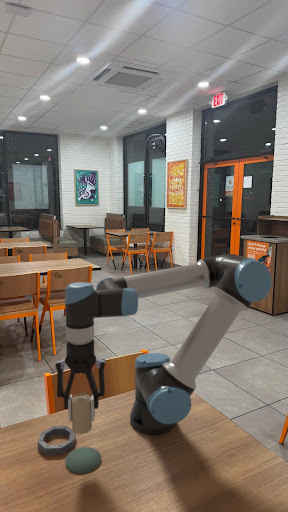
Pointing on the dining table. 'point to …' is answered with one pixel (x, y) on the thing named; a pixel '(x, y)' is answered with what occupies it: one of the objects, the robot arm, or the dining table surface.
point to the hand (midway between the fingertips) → (81, 418)
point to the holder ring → (56, 448)
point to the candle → (81, 413)
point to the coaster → (83, 460)
